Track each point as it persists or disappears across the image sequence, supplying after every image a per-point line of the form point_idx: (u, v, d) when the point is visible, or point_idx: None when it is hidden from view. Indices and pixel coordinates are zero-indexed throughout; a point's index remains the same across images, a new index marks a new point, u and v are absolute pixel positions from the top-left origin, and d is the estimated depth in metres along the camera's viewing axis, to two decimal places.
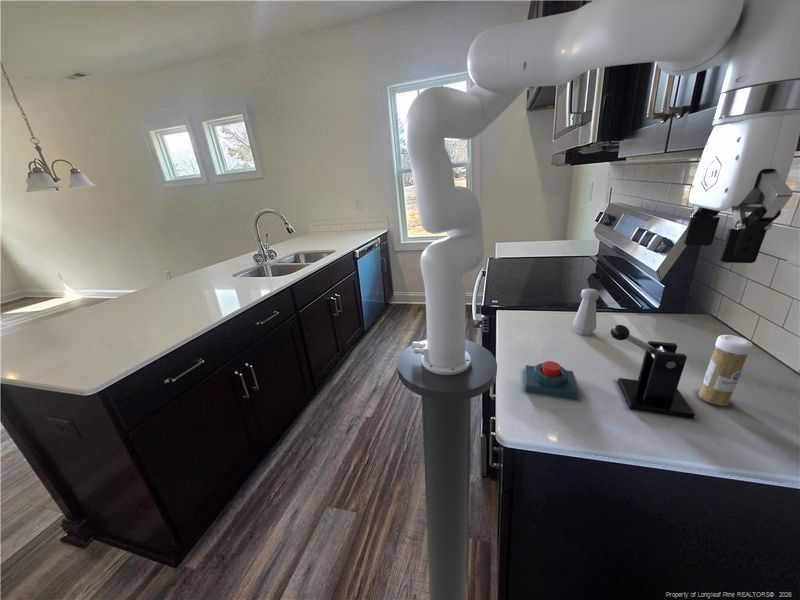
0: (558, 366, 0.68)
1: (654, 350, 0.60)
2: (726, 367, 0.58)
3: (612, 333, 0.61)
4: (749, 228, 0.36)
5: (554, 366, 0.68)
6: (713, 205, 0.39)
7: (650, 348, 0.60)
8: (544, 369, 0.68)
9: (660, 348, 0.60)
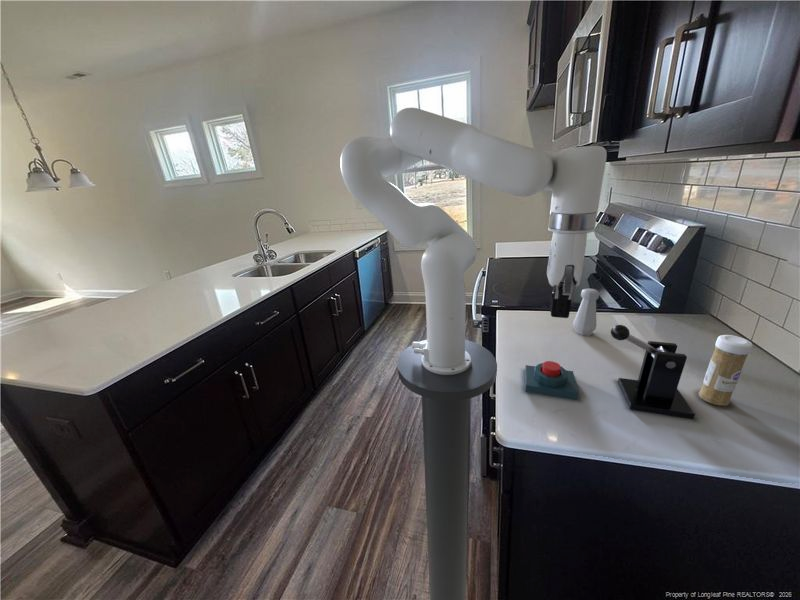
0: (558, 366, 0.68)
1: (654, 350, 0.60)
2: (726, 367, 0.58)
3: (612, 333, 0.61)
4: (560, 299, 0.60)
5: (554, 366, 0.68)
6: (549, 281, 0.60)
7: (650, 348, 0.60)
8: (544, 369, 0.68)
9: (660, 348, 0.60)
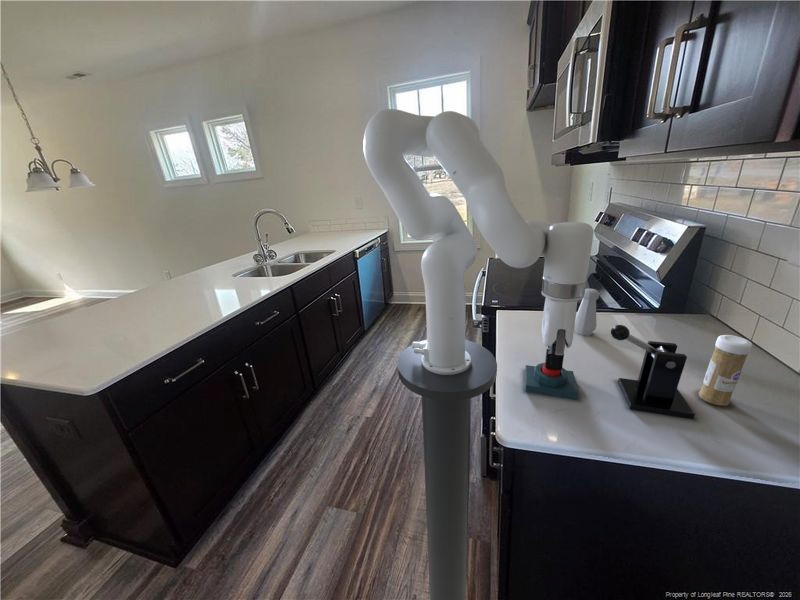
0: None
1: (654, 350, 0.60)
2: (726, 367, 0.58)
3: (612, 333, 0.61)
4: (553, 354, 0.65)
5: None
6: (543, 340, 0.64)
7: (650, 348, 0.60)
8: (544, 370, 0.68)
9: (660, 348, 0.60)
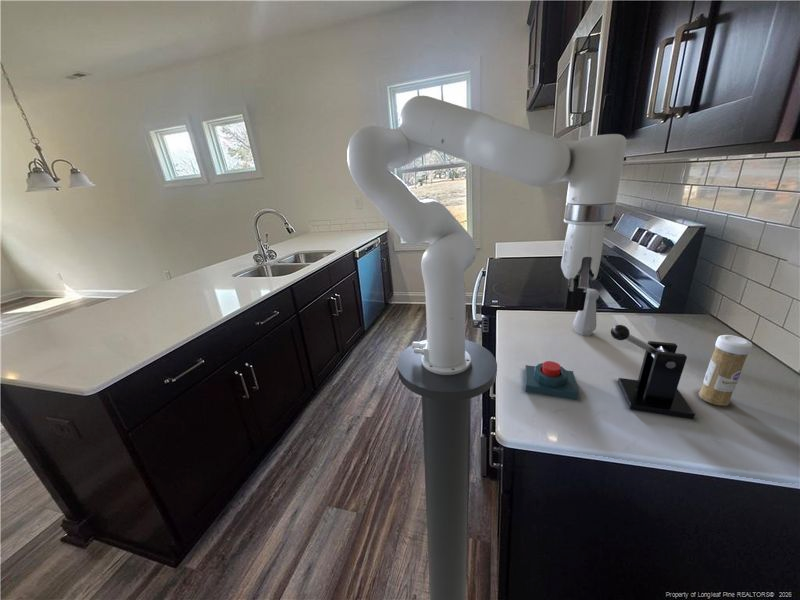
0: (558, 366, 0.68)
1: (654, 350, 0.60)
2: (726, 367, 0.58)
3: (612, 333, 0.61)
4: (575, 291, 0.60)
5: (554, 366, 0.68)
6: (564, 274, 0.58)
7: (650, 348, 0.60)
8: (544, 369, 0.68)
9: (660, 348, 0.60)
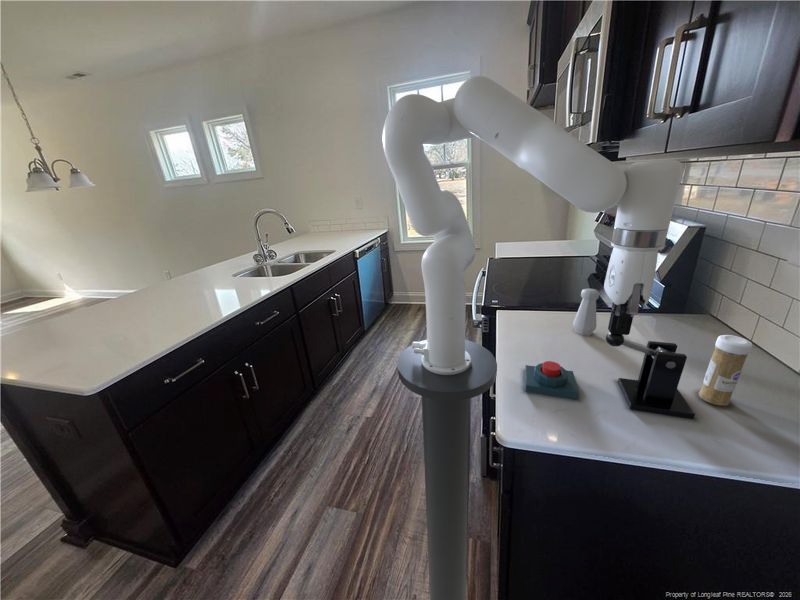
0: (558, 366, 0.68)
1: (652, 352, 0.60)
2: (726, 367, 0.58)
3: (607, 340, 0.62)
4: (622, 315, 0.58)
5: (554, 366, 0.68)
6: (612, 299, 0.57)
7: (648, 350, 0.60)
8: (544, 369, 0.68)
9: (658, 349, 0.60)
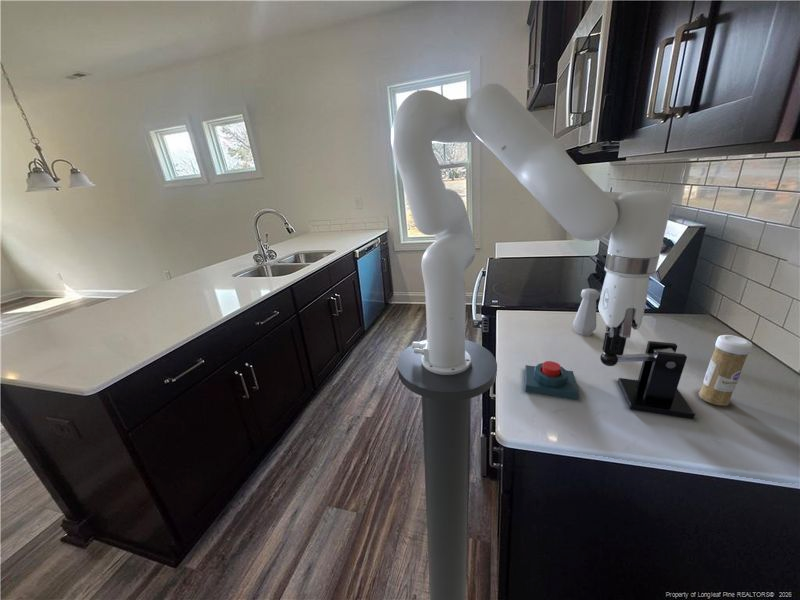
0: (558, 366, 0.68)
1: (649, 357, 0.61)
2: (726, 367, 0.58)
3: (603, 363, 0.64)
4: (615, 337, 0.60)
5: (554, 366, 0.68)
6: (605, 321, 0.59)
7: (644, 357, 0.61)
8: (544, 369, 0.68)
9: (654, 351, 0.61)
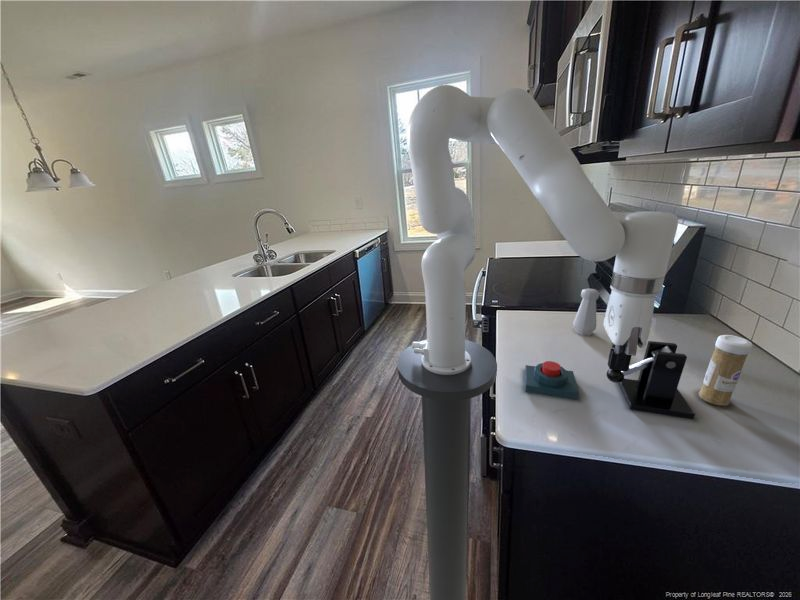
0: (558, 366, 0.68)
1: (650, 362, 0.61)
2: (726, 367, 0.58)
3: None
4: (621, 354, 0.61)
5: (554, 366, 0.68)
6: (611, 339, 0.60)
7: (646, 364, 0.61)
8: (544, 369, 0.68)
9: (653, 355, 0.61)
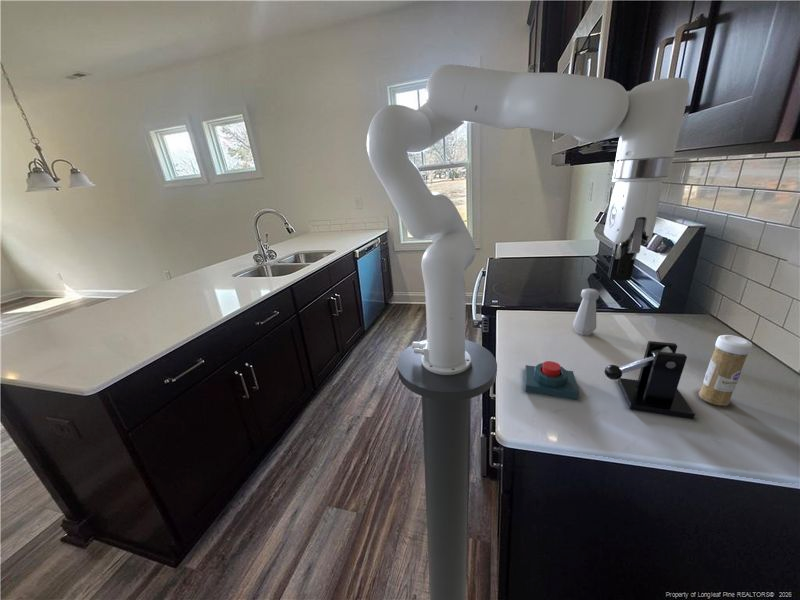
0: (558, 366, 0.68)
1: (650, 361, 0.61)
2: (726, 367, 0.58)
3: (609, 378, 0.65)
4: (622, 258, 0.55)
5: (554, 366, 0.68)
6: (612, 239, 0.54)
7: (645, 362, 0.61)
8: (544, 369, 0.68)
9: (653, 354, 0.61)
